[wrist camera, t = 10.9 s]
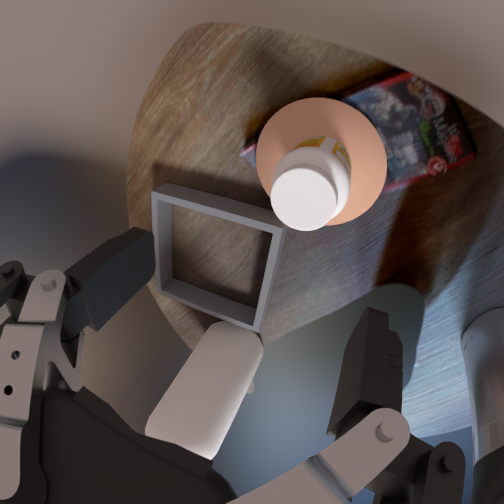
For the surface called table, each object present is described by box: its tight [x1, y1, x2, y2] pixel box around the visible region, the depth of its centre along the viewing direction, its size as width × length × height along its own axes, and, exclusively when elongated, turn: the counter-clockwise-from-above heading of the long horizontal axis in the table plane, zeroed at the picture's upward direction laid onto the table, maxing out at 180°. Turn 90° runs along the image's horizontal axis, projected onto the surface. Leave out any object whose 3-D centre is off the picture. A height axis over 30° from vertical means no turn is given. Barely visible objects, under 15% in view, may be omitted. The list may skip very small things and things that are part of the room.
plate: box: [256, 98, 387, 225], centre depth 25 cm, size 12×12×1 cm
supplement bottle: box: [270, 136, 352, 231], centre depth 21 cm, size 5×5×10 cm
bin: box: [151, 183, 288, 333], centre depth 33 cm, size 15×15×3 cm
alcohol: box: [145, 320, 263, 460], centre depth 30 cm, size 9×9×30 cm
